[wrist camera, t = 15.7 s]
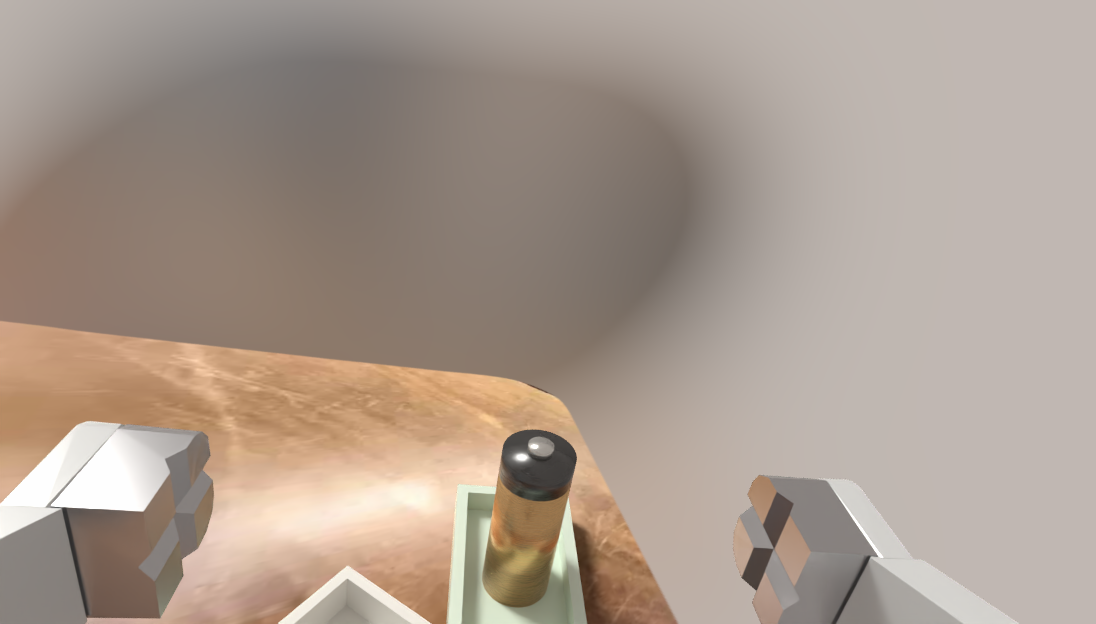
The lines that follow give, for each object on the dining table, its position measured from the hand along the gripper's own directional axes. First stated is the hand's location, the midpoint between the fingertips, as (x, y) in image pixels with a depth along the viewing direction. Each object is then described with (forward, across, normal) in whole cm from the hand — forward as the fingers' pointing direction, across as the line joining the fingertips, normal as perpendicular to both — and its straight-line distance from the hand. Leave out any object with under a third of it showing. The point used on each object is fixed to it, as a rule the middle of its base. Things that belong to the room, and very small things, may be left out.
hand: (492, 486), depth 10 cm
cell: (+24, -5, +29) cm, 38 cm away
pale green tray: (+24, -5, +30) cm, 39 cm away
